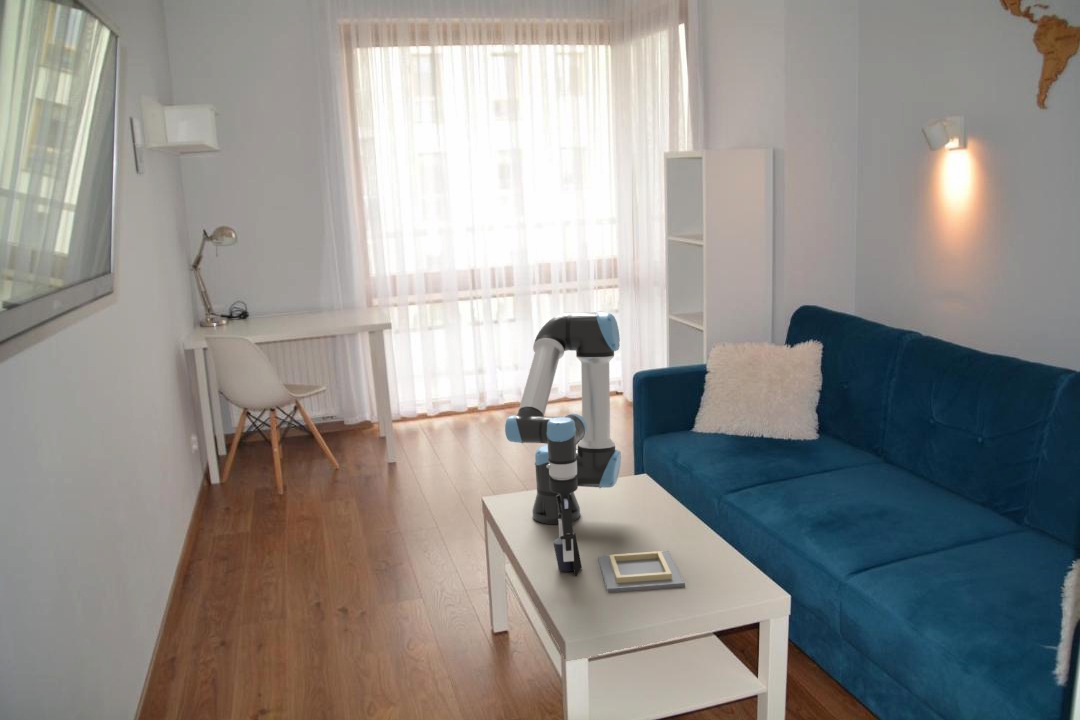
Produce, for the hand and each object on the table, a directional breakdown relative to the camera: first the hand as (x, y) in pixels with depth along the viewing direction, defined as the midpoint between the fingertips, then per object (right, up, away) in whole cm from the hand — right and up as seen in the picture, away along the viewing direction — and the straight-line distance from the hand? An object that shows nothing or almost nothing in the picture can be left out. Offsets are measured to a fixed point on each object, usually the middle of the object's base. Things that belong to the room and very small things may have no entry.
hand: (566, 550), depth 234 cm
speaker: (0, -6, +1) cm, 6 cm away
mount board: (+20, -5, -3) cm, 20 cm away
